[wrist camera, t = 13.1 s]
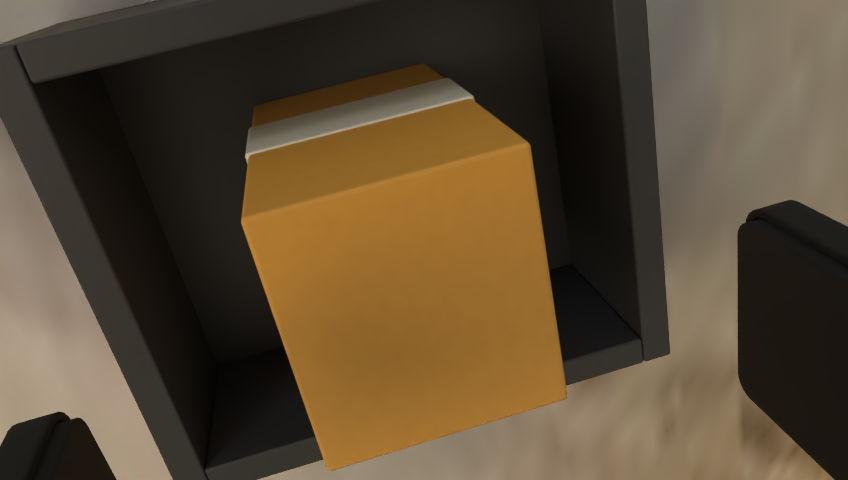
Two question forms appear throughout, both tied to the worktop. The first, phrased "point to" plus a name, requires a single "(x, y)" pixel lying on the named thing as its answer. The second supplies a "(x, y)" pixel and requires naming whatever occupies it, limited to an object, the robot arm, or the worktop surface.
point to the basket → (227, 167)
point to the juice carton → (401, 261)
